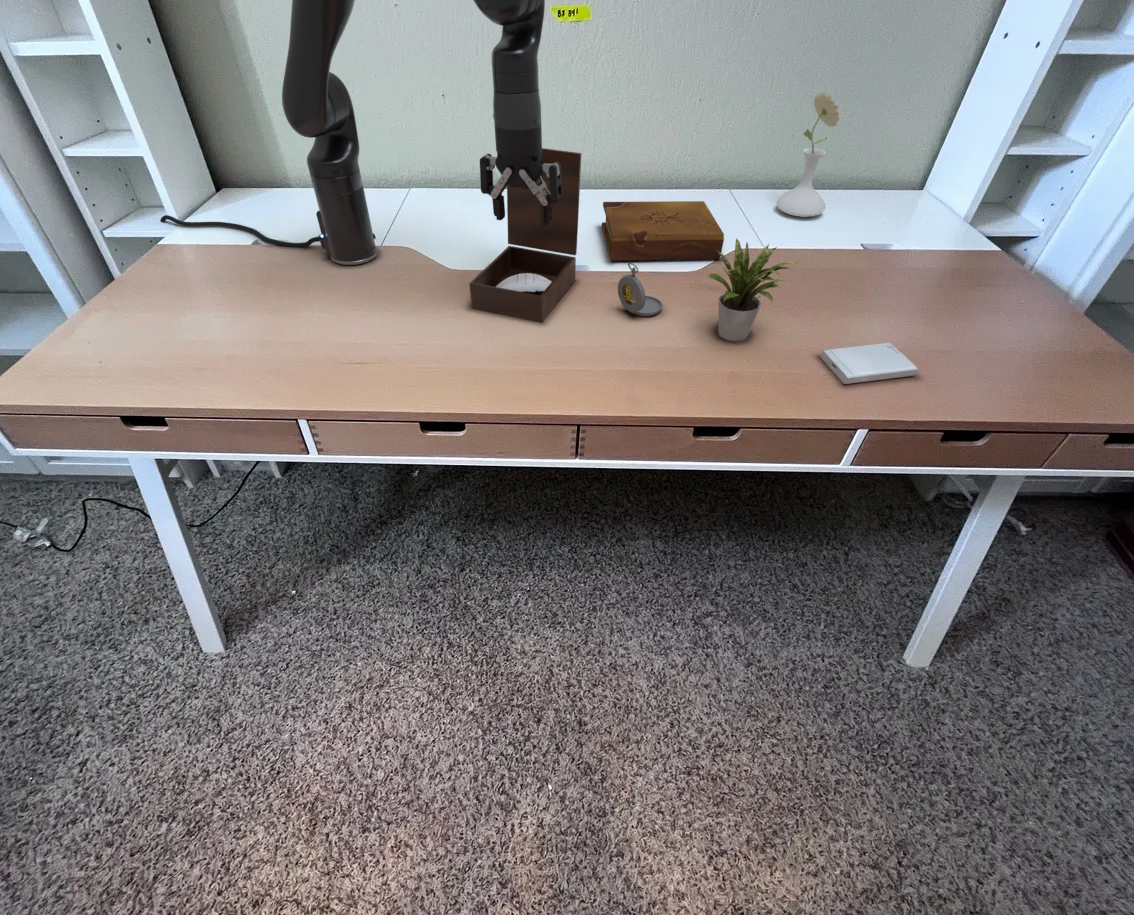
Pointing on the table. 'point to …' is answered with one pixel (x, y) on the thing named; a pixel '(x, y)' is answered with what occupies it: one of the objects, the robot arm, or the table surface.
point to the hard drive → (868, 363)
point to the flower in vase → (810, 167)
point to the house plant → (743, 292)
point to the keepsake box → (523, 303)
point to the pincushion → (525, 282)
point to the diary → (661, 231)
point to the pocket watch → (637, 296)
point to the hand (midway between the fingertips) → (522, 221)
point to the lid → (564, 212)
